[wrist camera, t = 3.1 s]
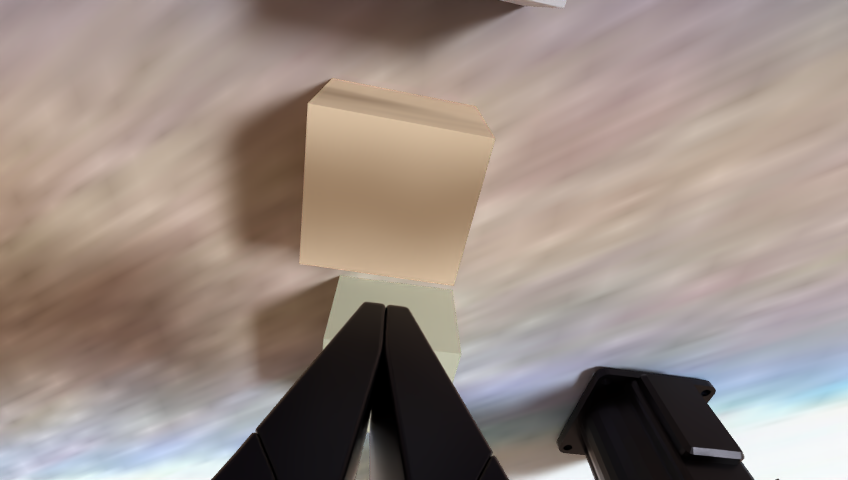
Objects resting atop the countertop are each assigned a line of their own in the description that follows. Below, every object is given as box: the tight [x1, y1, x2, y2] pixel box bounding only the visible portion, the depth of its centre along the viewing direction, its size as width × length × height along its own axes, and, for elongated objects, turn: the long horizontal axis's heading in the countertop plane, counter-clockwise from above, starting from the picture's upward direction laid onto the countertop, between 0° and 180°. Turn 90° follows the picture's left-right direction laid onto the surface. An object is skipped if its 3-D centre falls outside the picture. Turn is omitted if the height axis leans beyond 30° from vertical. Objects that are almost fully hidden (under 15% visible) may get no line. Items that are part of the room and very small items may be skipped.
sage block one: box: [323, 276, 461, 433], centre depth 18 cm, size 5×5×4 cm
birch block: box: [299, 78, 495, 286], centre depth 14 cm, size 5×5×4 cm
